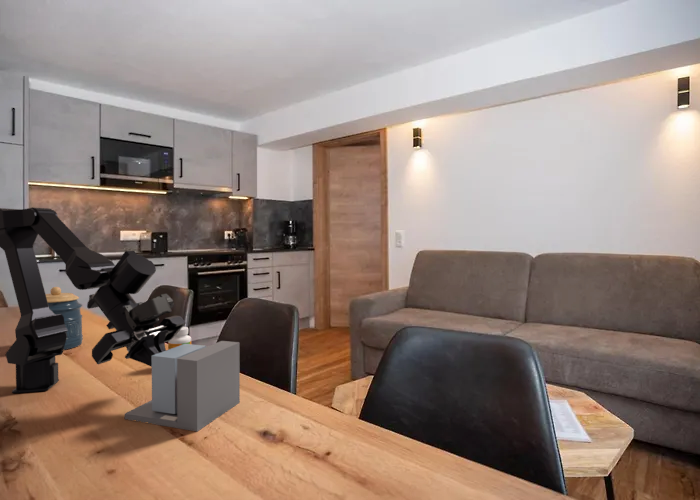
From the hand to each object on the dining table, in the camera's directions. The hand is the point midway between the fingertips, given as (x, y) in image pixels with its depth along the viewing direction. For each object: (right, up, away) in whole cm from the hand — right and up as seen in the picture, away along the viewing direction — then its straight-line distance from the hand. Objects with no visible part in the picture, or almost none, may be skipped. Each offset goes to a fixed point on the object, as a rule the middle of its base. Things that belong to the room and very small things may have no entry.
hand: (168, 370), depth 81 cm
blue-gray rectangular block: (+3, -6, -1) cm, 7 cm away
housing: (+4, -7, -1) cm, 8 cm away
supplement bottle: (-8, -6, +26) cm, 28 cm away
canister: (-52, -6, +44) cm, 68 cm away
